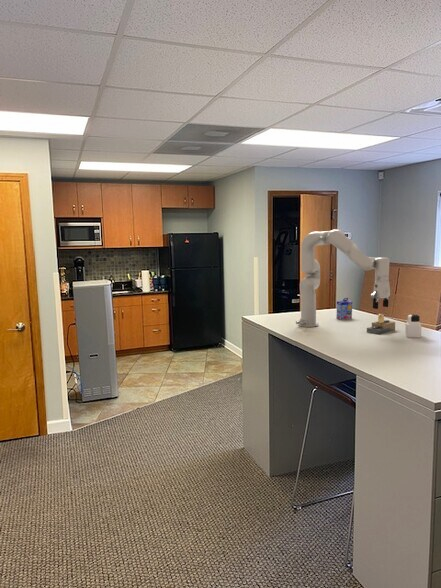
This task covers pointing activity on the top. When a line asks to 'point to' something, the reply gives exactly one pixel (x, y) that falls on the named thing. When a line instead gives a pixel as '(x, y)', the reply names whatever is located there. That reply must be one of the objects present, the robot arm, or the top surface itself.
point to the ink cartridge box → (344, 309)
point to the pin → (381, 318)
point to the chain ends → (381, 327)
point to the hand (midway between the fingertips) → (380, 307)
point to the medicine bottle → (413, 326)
